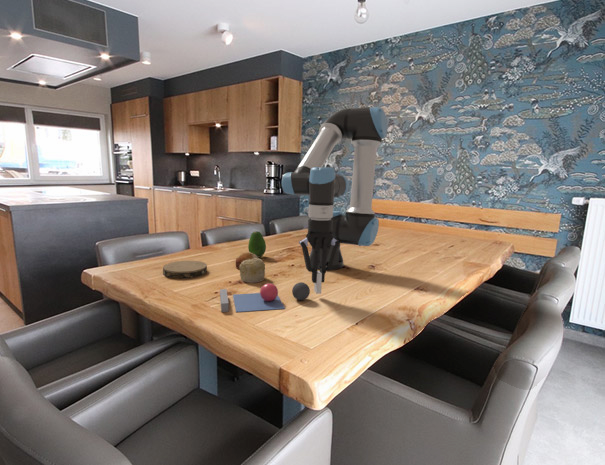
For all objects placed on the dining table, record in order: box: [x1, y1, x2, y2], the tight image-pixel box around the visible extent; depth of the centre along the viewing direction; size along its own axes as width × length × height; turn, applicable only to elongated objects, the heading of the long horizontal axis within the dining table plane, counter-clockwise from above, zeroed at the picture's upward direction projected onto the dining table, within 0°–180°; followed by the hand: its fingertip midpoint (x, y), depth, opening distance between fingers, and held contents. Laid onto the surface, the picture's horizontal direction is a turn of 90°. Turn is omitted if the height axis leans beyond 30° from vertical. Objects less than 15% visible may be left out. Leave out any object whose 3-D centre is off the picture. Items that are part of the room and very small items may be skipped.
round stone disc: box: [162, 260, 208, 280], centre depth 135 cm, size 16×16×3 cm
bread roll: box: [234, 251, 259, 270], centre depth 145 cm, size 10×10×8 cm
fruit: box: [247, 230, 267, 258], centre depth 160 cm, size 8×8×12 cm
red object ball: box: [259, 282, 279, 302], centre depth 108 cm, size 6×6×6 cm
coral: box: [238, 257, 266, 284], centre depth 129 cm, size 9×9×8 cm
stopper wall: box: [219, 288, 230, 313], centre depth 105 cm, size 2×12×2 cm, turn 15°
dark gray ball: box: [292, 282, 311, 301], centre depth 110 cm, size 6×6×6 cm
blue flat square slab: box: [232, 292, 286, 313], centre depth 107 cm, size 14×14×1 cm
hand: (317, 292), depth 112 cm, fingers closed
